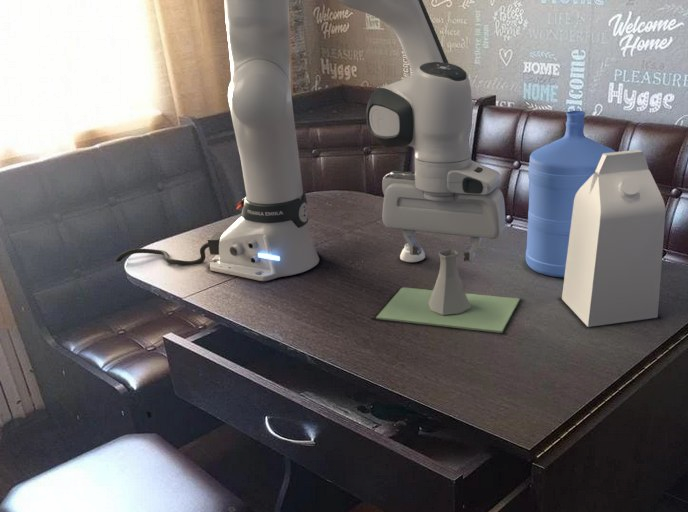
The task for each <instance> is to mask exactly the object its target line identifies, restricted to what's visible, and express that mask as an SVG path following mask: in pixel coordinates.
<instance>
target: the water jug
mask: <svg viewBox="0 0 688 512" xmlns="http://www.w3.org/2000/svg"><path fill="white" fill-rule="evenodd" d="M585 115H586V112H585V111H584V110H570V111H567V112H566V122H565V133H564V136H562V137H560V138H557V139H556V140H554V141H552V142H549V143H547V144H545V145H543V146H541V147H539V148H537V149H534V150H533V151H532V152H531V154H530V155H529V164H528V173H527V175H528V212H527V229H526V230H527V231H526V249H525V263H526V264H527V266H528V267H529V268H530V269H531V270H533V271H534V272H536V273H539V274H541V275H544V276H547V277H552V278H553V277H554V278H560V279H561V278H563V279H564V277H565V269H566V261H567V253H568V245H569V237H570V229H571V221H572V213H573V205H574V198H575V195H576V193H577V192H578V190H579V189H580V188H581V187H582V185H583V184H584V183H585V182H586V181H587V180H588V179H589V178H590V177H591V176H592V175H593V174H594V173H595V170H596V168H597V166H598V164H599V161H600V159H601V157H602V154H603V153H612V152H616V150H614V149H612V148H611V147H609V146H607V145H605V144H602V143H600V142H598V141H595V140H594V139H591V138H589V137H587V136H585V133H584V129H585V128H584V127H585V122H586V121H585Z"/></svg>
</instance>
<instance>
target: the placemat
mask: <svg viewBox="0 0 688 512" xmlns="http://www.w3.org/2000/svg"><path fill="white" fill-rule="evenodd" d="M432 292H433V289H426V288H425V289H424V288H415V287H414V288H413V287H405V286H404V287H403V286H402V287H401V288H400V289H399V290H398V292H396V293H395V294H394V296H393V297H392V298H391V299H390V301H388V303H387V304H386V305H385V306H384V308H383V309H382V310H381V311H380V312H379V313H378V314H377V316H376V317H375V319H376V320H381V321H391V322H400V323H409V324H418V325H424V326H425V325H426V326H436V327H443V328H452V329H453V328H454V329H462V330H471V331H480V332H487V333H488V332H489V333H498V334H503V332H504V331H505V328H506V326H507V325H508V324H509V321H510V320H511V317H512V315H513V313H514V312H515V310H516V308H517V306H518V304H519V303H520V301H521V299H520V298H519V297H507V296H498V295H489V294H488V295H487V294H477V293H467V292H465V294H466V297H467V299H468V302H469V304H470V307H471V308H469V309H467V310H465V311H463V312H461V313H458V314H447V315H442V314H439V313H436V312H434V311H431V310H430V307H429V304H428V303H429V300H430V297H431V295H432Z"/></svg>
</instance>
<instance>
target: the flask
mask: <svg viewBox="0 0 688 512" xmlns="http://www.w3.org/2000/svg"><path fill="white" fill-rule="evenodd" d="M438 256H439V258H440V265H439V269H438V270H439V271H438V274H437V278H436V281H435V283H434V286H433V289H432V290H433V292H432V295H431V297H430V300H429V303H428V304H429V307H430V310H431V311H434V312H436V313H439V314H442V315H447V314H458V313H461V312H463V311H465V310H467V309H469V308H471V307H470V304H469V302H468V299H467V297H466V294H465V293H466V292H465V289H464V286H463V284H462V280H461V278H460V275H459V269H458V266H457V265H458V264H457V263H458V262H457V258H458V257H459V252H458V251H457V250H455V249H453V248H452V249H451V248H449V249H443V250H440V251H438Z"/></svg>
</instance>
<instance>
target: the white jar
mask: <svg viewBox="0 0 688 512" xmlns="http://www.w3.org/2000/svg"><path fill="white" fill-rule="evenodd" d="M403 247H404V248H402V250H401V252H400V255H399V259H400V260H401V261H403V262H406V263H418V262H421V261H423V260H424V259H425V258H426V253H425V251H424V249H423V248H422V247H421V249H422V252H421V254H419V256H417V255H410V245H409V244H408V243H407V242H406V243H405V244H404V246H403Z"/></svg>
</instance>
